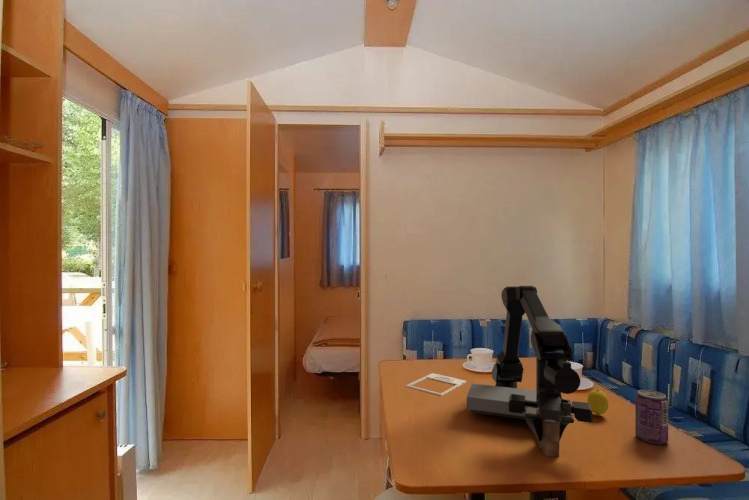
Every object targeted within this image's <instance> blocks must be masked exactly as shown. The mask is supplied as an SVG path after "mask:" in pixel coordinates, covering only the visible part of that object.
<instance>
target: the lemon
mask: <svg viewBox="0 0 749 500" xmlns="http://www.w3.org/2000/svg"><path fill="white" fill-rule="evenodd" d="M586 403H588V404H589V405H590V407H591V410H592V413H594V414H595V415H596V416H597V417H599V416H601V415H605V413H607V411H608V409H609V406H610V405H609V398H608V396H607V394H606V393H605V392H604V391H602V390H600V389H599V388H596V389H593V390H591V391H590V392H589V393H588V395H587V402H586Z"/></svg>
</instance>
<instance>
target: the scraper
mask: <svg viewBox="0 0 749 500" xmlns="http://www.w3.org/2000/svg"><path fill="white" fill-rule="evenodd" d="M538 417H539V413H538ZM525 422H526V424H527V425H528V427H529V428H530V430H531V431H532V433H533V434H534V435H535V437H536V438H537V445H538V447H539V448H540V449H541V451H542V452H543V453H544V455H545V456H546V457H560V442H559V431H560V424H559V423H558V422H556V421H554V420H543V419H541V418H540V417H539V424H540V431H541V441H539V439H538V436H537V433H536V430H535V427H534V424H533V422H532V420H531V419H530V418H529V417H526V419H525Z"/></svg>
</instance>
